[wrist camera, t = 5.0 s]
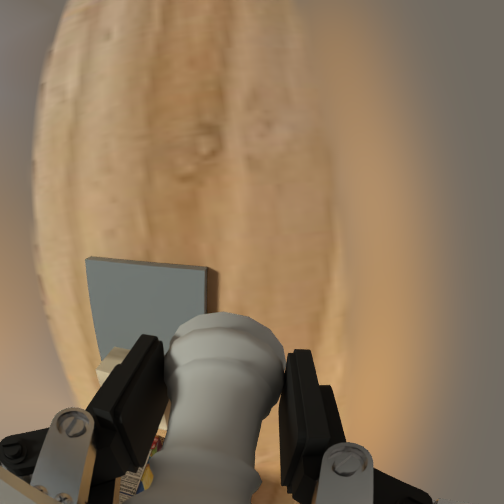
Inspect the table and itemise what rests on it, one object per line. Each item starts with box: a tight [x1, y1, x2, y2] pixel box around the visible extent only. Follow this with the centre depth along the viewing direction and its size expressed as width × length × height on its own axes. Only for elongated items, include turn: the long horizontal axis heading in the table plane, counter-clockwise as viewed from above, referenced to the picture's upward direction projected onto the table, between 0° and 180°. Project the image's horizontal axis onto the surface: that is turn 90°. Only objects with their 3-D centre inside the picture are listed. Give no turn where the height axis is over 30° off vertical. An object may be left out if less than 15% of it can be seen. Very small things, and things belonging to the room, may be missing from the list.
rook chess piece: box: [122, 312, 286, 504], centre depth 7 cm, size 4×4×8 cm
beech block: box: [96, 347, 171, 430], centre depth 23 cm, size 6×6×4 cm
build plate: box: [85, 256, 207, 361], centre depth 24 cm, size 16×11×1 cm
